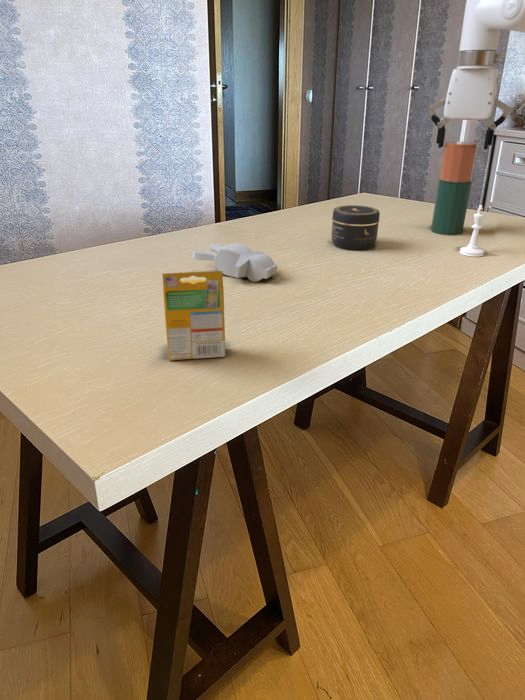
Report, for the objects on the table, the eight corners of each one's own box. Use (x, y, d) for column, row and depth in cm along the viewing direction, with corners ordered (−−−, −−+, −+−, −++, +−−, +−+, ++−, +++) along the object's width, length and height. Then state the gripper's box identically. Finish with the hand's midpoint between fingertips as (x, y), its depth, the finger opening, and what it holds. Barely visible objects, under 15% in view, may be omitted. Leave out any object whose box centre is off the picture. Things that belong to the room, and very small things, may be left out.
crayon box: (223, 347, 71) (221, 263, 65) (225, 357, 68) (224, 271, 63) (168, 350, 70) (161, 265, 64) (168, 361, 67) (161, 273, 62)
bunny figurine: (260, 266, 89) (188, 243, 94) (257, 294, 91) (186, 269, 97) (286, 252, 96) (217, 231, 102) (282, 278, 99) (215, 256, 104)
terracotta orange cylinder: (471, 178, 124) (478, 142, 120) (469, 183, 119) (476, 145, 115) (441, 176, 127) (447, 140, 123) (437, 180, 121) (443, 143, 117)
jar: (346, 253, 110) (349, 216, 107) (322, 241, 118) (324, 206, 115) (385, 248, 114) (389, 212, 111) (359, 237, 122) (362, 203, 119)
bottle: (463, 229, 130) (476, 161, 122) (460, 236, 124) (473, 164, 116) (433, 226, 132) (444, 158, 125) (428, 233, 126) (440, 162, 119)
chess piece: (487, 253, 112) (497, 205, 107) (478, 258, 108) (488, 208, 104) (465, 248, 115) (474, 201, 110) (455, 253, 111) (464, 205, 107)
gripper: (521, 61, 111) (505, 148, 119) (436, 63, 118) (426, 145, 125) (520, 59, 105) (503, 151, 113) (431, 61, 112) (420, 148, 119)
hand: (462, 148), depth 119 cm, fingers open, 9 cm apart
